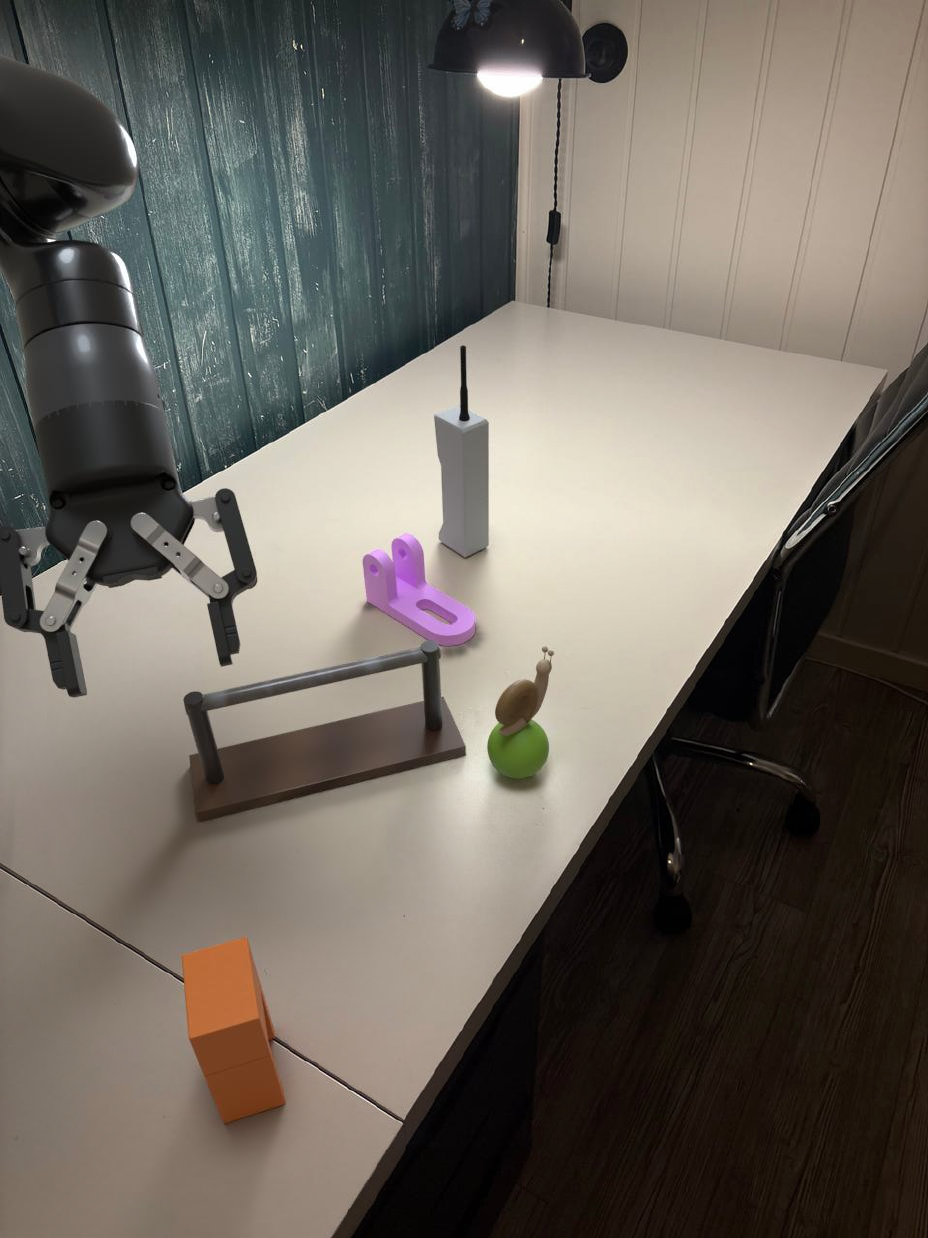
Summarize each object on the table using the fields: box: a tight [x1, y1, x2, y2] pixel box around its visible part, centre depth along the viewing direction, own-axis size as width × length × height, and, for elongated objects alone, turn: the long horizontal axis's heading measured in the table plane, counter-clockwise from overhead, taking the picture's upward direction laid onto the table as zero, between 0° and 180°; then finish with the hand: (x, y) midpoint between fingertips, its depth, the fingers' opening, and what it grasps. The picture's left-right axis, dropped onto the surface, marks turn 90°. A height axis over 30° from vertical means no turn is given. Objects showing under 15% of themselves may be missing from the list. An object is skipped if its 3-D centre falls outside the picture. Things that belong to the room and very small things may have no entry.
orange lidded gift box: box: [181, 936, 286, 1124], centre depth 58 cm, size 4×6×11 cm
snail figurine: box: [486, 645, 555, 780], centre depth 79 cm, size 5×6×12 cm
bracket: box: [362, 532, 476, 647], centre depth 98 cm, size 13×6×7 cm, turn 46°
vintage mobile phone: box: [433, 344, 490, 558], centre depth 103 cm, size 4×5×25 cm
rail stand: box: [182, 640, 467, 822], centre depth 80 cm, size 24×7×11 cm, turn 108°
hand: (154, 679), depth 54 cm, fingers open, 8 cm apart
